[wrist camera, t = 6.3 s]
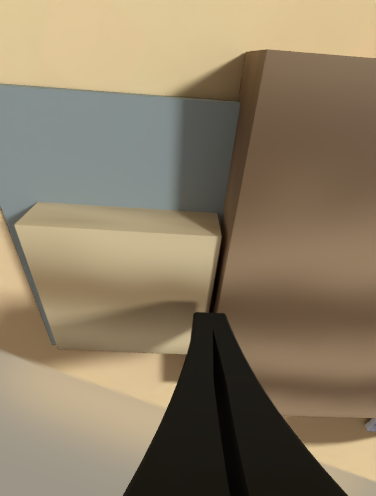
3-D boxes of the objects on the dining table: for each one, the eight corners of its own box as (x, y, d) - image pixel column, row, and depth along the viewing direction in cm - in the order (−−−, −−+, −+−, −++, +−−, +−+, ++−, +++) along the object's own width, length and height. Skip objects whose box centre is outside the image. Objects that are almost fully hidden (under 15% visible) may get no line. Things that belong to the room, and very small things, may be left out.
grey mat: (201, 344, 19) (201, 350, 18) (55, 338, 18) (52, 344, 18) (238, 101, 10) (240, 103, 10) (-37, 80, 10) (-47, 81, 9)
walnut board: (372, 377, 21) (396, 418, 19) (196, 371, 21) (197, 413, 18) (626, 83, 10) (773, 91, 7) (245, 51, 9) (266, 49, 7)
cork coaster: (200, 326, 17) (201, 355, 15) (70, 320, 16) (58, 349, 15) (217, 212, 12) (221, 236, 11) (38, 201, 12) (14, 224, 10)
